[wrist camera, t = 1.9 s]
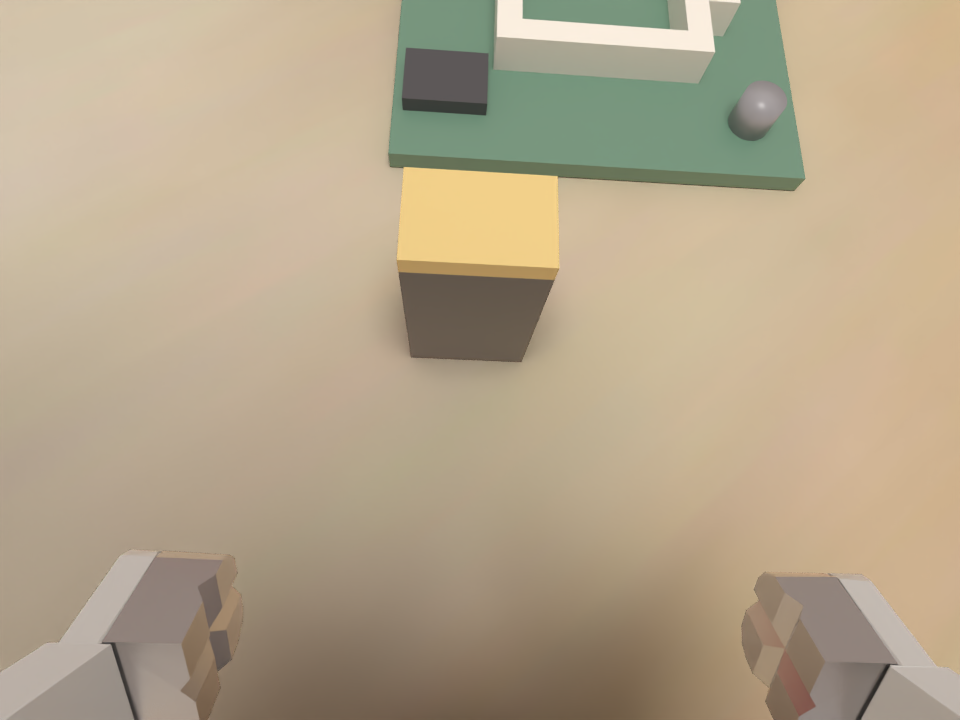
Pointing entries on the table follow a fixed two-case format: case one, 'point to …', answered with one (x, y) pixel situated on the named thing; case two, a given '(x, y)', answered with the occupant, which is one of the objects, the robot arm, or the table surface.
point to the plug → (475, 260)
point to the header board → (597, 91)
